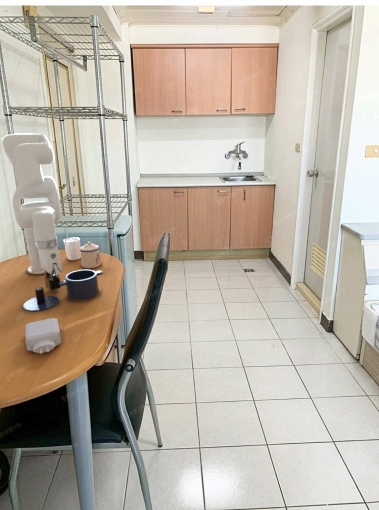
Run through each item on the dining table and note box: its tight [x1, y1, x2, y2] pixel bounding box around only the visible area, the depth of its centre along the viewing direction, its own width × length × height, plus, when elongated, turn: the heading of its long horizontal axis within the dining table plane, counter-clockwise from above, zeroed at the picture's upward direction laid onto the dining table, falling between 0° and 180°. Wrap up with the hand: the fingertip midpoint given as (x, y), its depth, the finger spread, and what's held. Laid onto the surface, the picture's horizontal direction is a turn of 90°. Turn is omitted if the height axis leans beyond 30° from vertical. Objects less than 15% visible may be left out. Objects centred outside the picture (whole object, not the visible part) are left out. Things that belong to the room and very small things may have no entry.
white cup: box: [63, 236, 82, 261], centre depth 175 cm, size 8×8×10 cm
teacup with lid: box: [80, 241, 102, 269], centre depth 166 cm, size 12×9×12 cm
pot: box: [59, 269, 104, 302], centre depth 133 cm, size 11×17×8 cm
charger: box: [24, 317, 62, 355], centre depth 101 cm, size 5×9×15 cm
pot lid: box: [22, 286, 60, 313], centre depth 126 cm, size 12×12×7 cm
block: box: [44, 274, 62, 291], centre depth 137 cm, size 4×4×4 cm
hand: (53, 286), depth 138 cm, fingers closed on block, 4 cm apart
